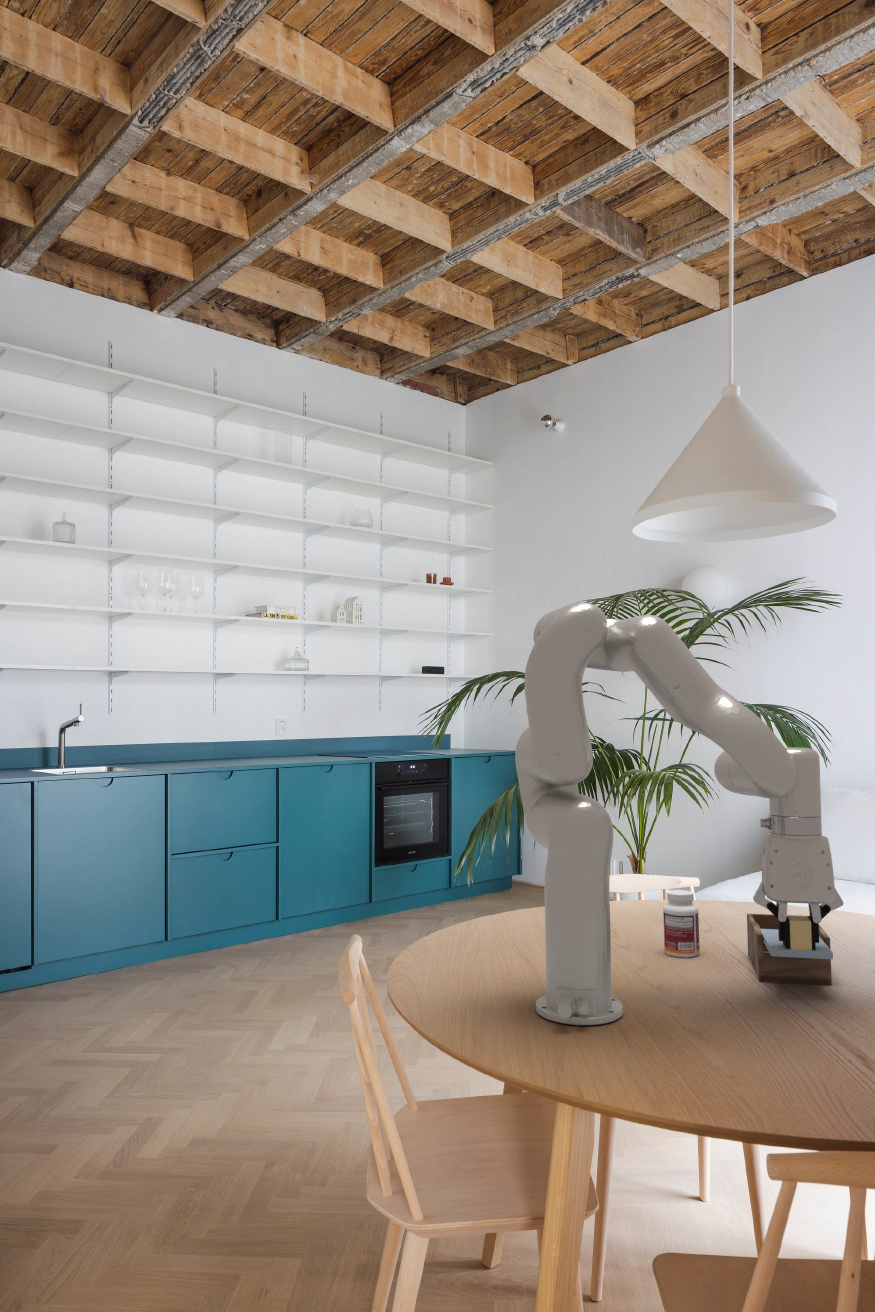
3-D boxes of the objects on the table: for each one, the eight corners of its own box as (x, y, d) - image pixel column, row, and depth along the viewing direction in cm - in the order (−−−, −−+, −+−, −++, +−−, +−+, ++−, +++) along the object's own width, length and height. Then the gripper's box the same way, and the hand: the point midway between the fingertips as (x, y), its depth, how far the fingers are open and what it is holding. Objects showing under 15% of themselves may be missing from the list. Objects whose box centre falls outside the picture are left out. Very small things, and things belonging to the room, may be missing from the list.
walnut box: (831, 985, 144) (830, 938, 145) (759, 981, 147) (757, 935, 147) (813, 958, 160) (811, 916, 160) (748, 955, 162) (746, 913, 163)
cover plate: (833, 959, 136) (831, 923, 137) (771, 956, 138) (770, 920, 139) (815, 937, 150) (814, 904, 150) (759, 934, 152) (758, 902, 152)
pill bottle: (678, 947, 168) (676, 887, 169) (706, 954, 163) (705, 892, 164) (657, 953, 164) (655, 892, 165) (686, 960, 159) (684, 897, 160)
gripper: (743, 828, 139) (746, 950, 138) (857, 831, 136) (861, 956, 134) (738, 823, 146) (740, 938, 145) (846, 825, 143) (849, 943, 142)
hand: (798, 945), depth 140 cm, fingers closed on cover plate, 3 cm apart
